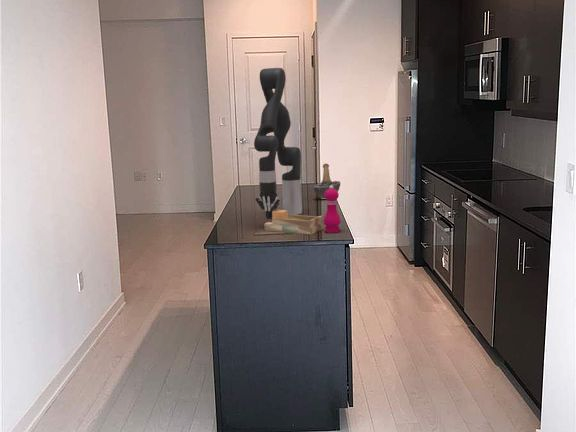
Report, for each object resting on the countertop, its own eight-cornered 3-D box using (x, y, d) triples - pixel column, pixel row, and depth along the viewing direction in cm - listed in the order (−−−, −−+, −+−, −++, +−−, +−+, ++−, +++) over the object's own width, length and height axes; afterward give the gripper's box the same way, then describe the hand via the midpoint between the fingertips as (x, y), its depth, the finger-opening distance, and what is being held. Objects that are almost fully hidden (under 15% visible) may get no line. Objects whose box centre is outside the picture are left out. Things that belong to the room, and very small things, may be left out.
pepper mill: (326, 229, 269) (325, 184, 265) (342, 229, 267) (341, 184, 263) (322, 232, 262) (321, 186, 258) (338, 233, 260) (337, 186, 256)
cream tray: (277, 225, 280) (276, 212, 279) (322, 229, 269) (322, 215, 268) (264, 230, 271) (264, 216, 270) (311, 234, 260) (311, 220, 259)
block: (278, 220, 276) (277, 209, 275) (288, 221, 274) (287, 210, 273) (272, 222, 272) (272, 211, 271) (282, 223, 269) (282, 212, 268)
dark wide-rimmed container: (340, 196, 356) (340, 161, 352) (340, 200, 340) (339, 165, 336) (315, 196, 357) (314, 162, 354) (313, 201, 341) (312, 165, 337)
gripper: (284, 180, 272) (286, 218, 275) (259, 179, 278) (261, 216, 282) (276, 182, 265) (277, 221, 269) (250, 181, 272) (252, 219, 275)
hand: (269, 218), depth 275 cm, fingers closed
